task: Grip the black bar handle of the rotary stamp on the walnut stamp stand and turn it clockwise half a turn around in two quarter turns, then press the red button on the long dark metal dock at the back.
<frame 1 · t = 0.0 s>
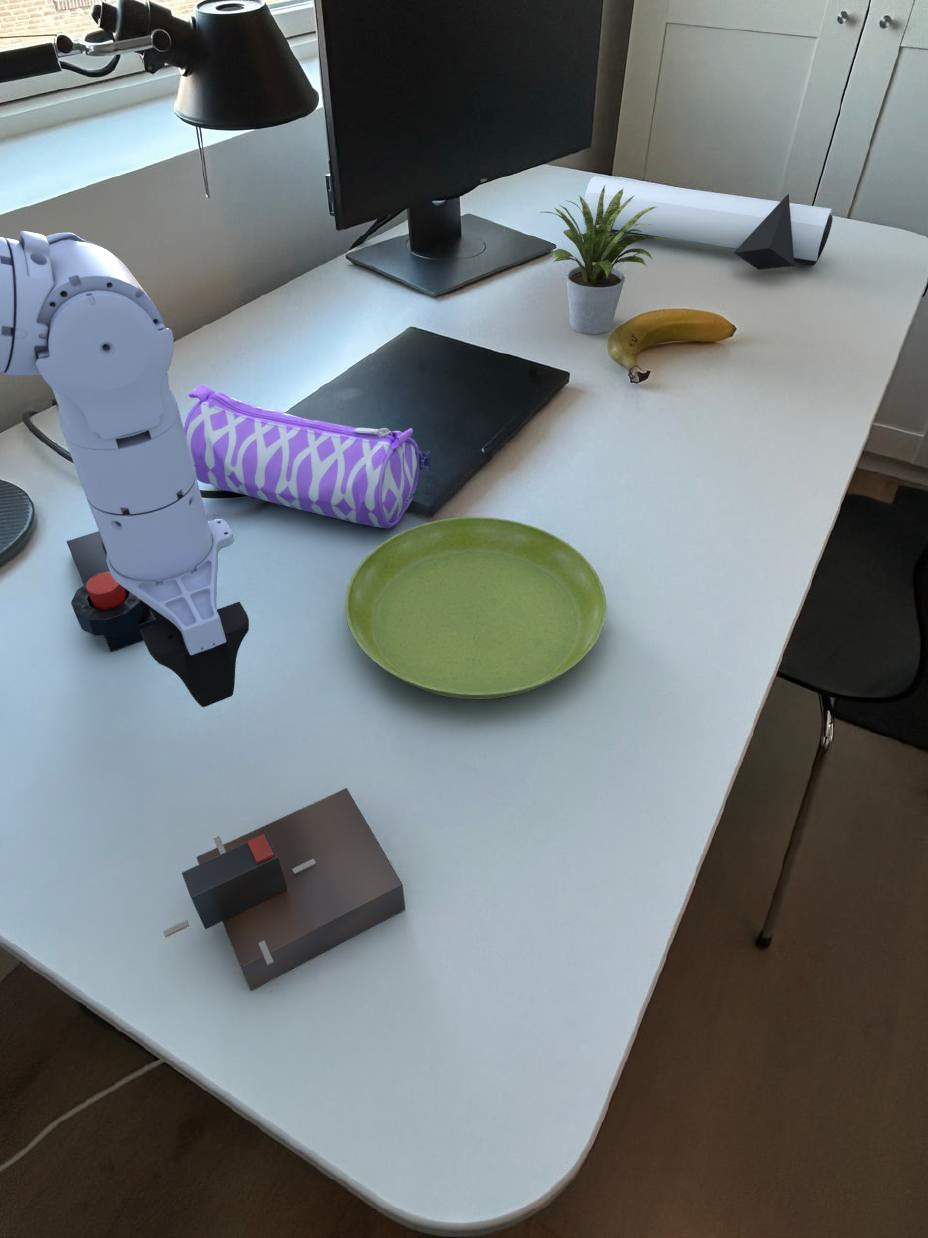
hand: (196, 659, 56), 9 cm above the table, tool pointing down, fingers open, 7 cm apart
green plate: (475, 625, 72), on the table
diploma: (692, 256, 127), on the table
pencil case: (309, 501, 85), on the table
button dock: (137, 585, 76), on the table
house plant: (584, 330, 111), on the table
dock button: (106, 590, 69), point 4 cm above the table, slide at 0.1 cm
stamp stand: (304, 895, 55), on the table
stamp handle: (235, 880, 50), point 5 cm above the table, hinge at 0.0°
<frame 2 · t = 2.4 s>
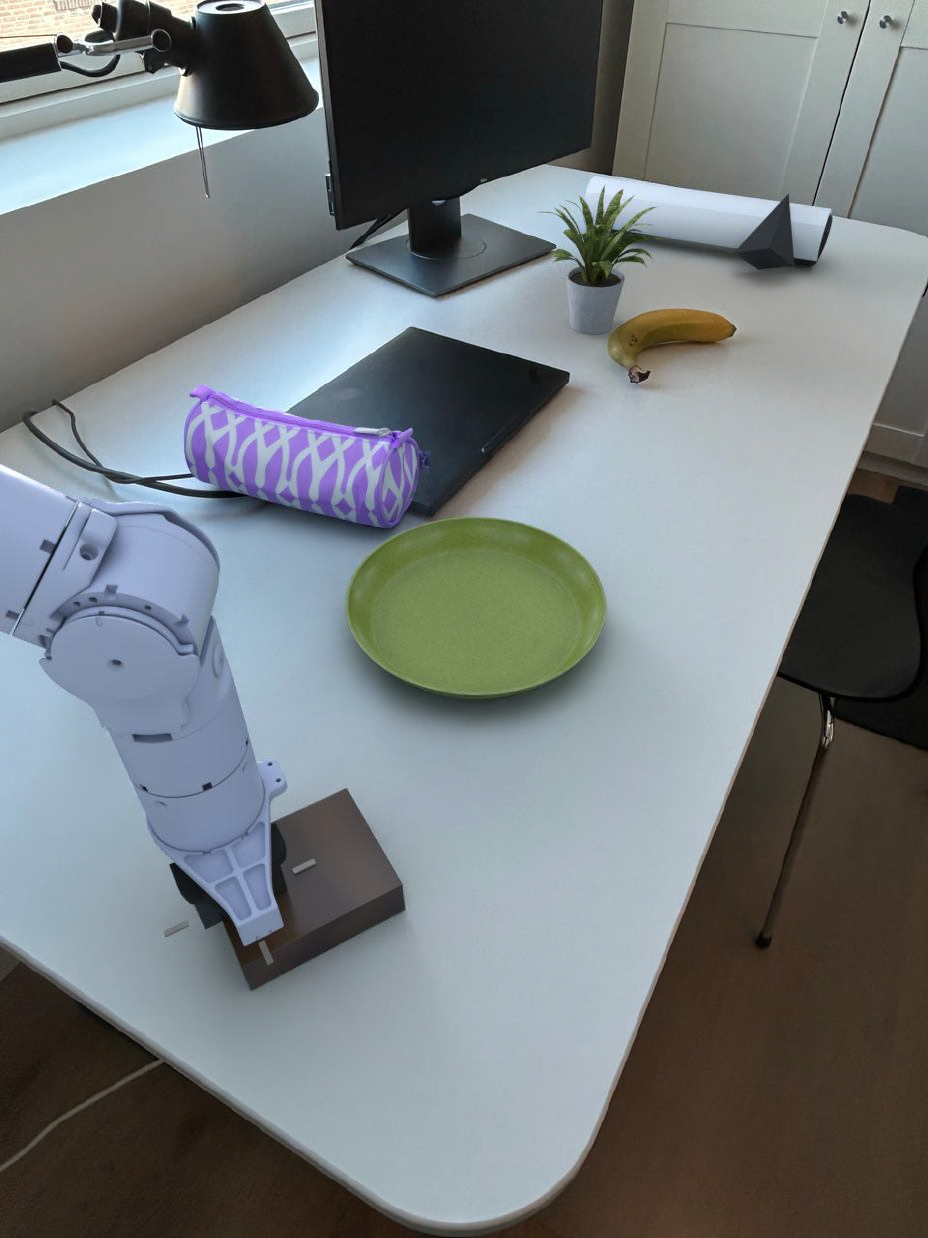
hand: (240, 893, 51), 4 cm above the table, tool pointing down, fingers closed on stamp handle, 2 cm apart
stamp handle: (235, 880, 50), point 5 cm above the table, hinge at 0.1°, touching gripper
everything else where it was.
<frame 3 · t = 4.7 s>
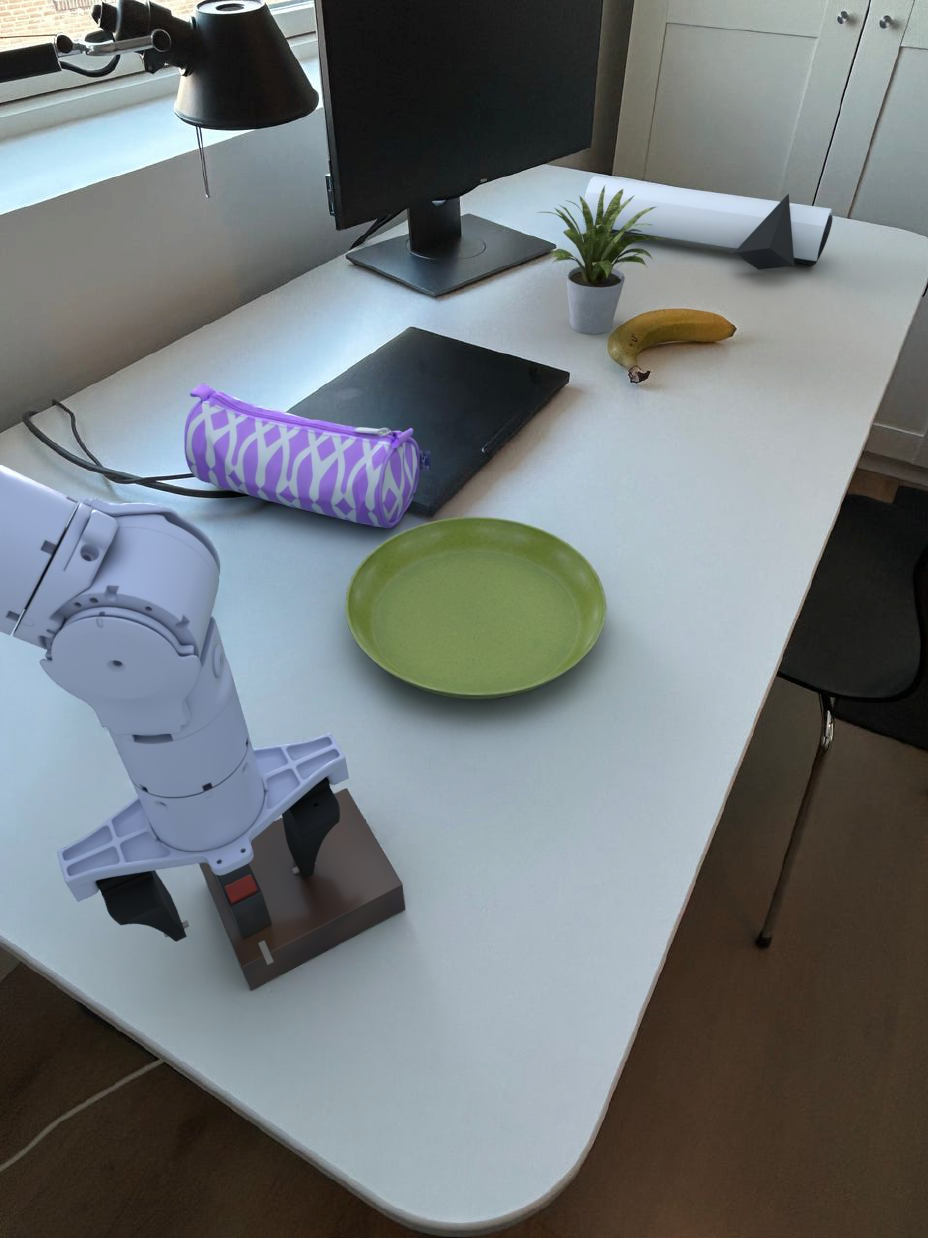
hand: (240, 893, 51), 3 cm above the table, tool pointing down, fingers open, 7 cm apart
stamp handle: (235, 880, 50), point 5 cm above the table, hinge at -89.3°
everything else where it was.
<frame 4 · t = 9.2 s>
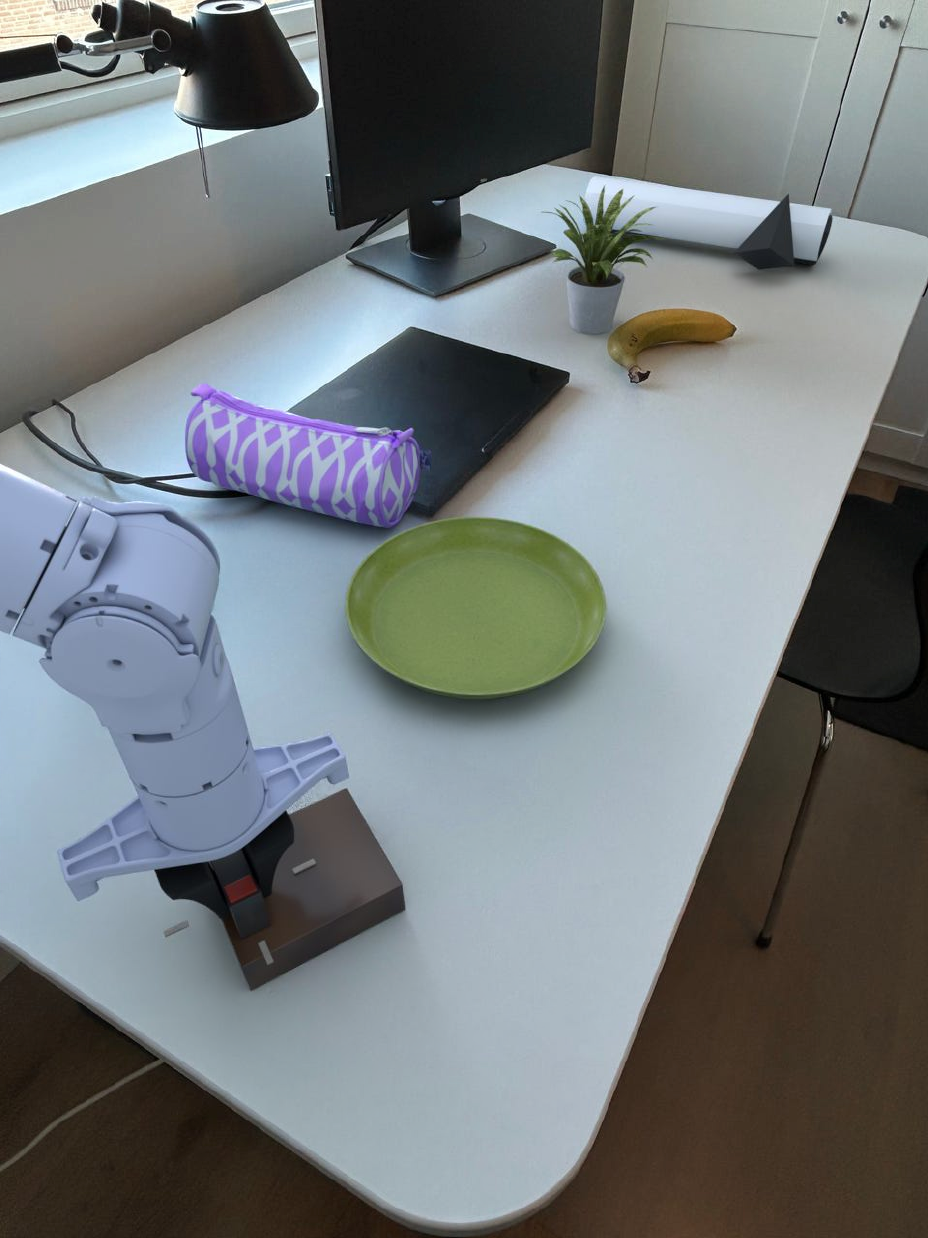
hand: (240, 893, 51), 4 cm above the table, tool pointing down, fingers closed on stamp handle, 2 cm apart
stamp handle: (235, 880, 50), point 5 cm above the table, hinge at -90.1°, touching gripper
everything else where it was.
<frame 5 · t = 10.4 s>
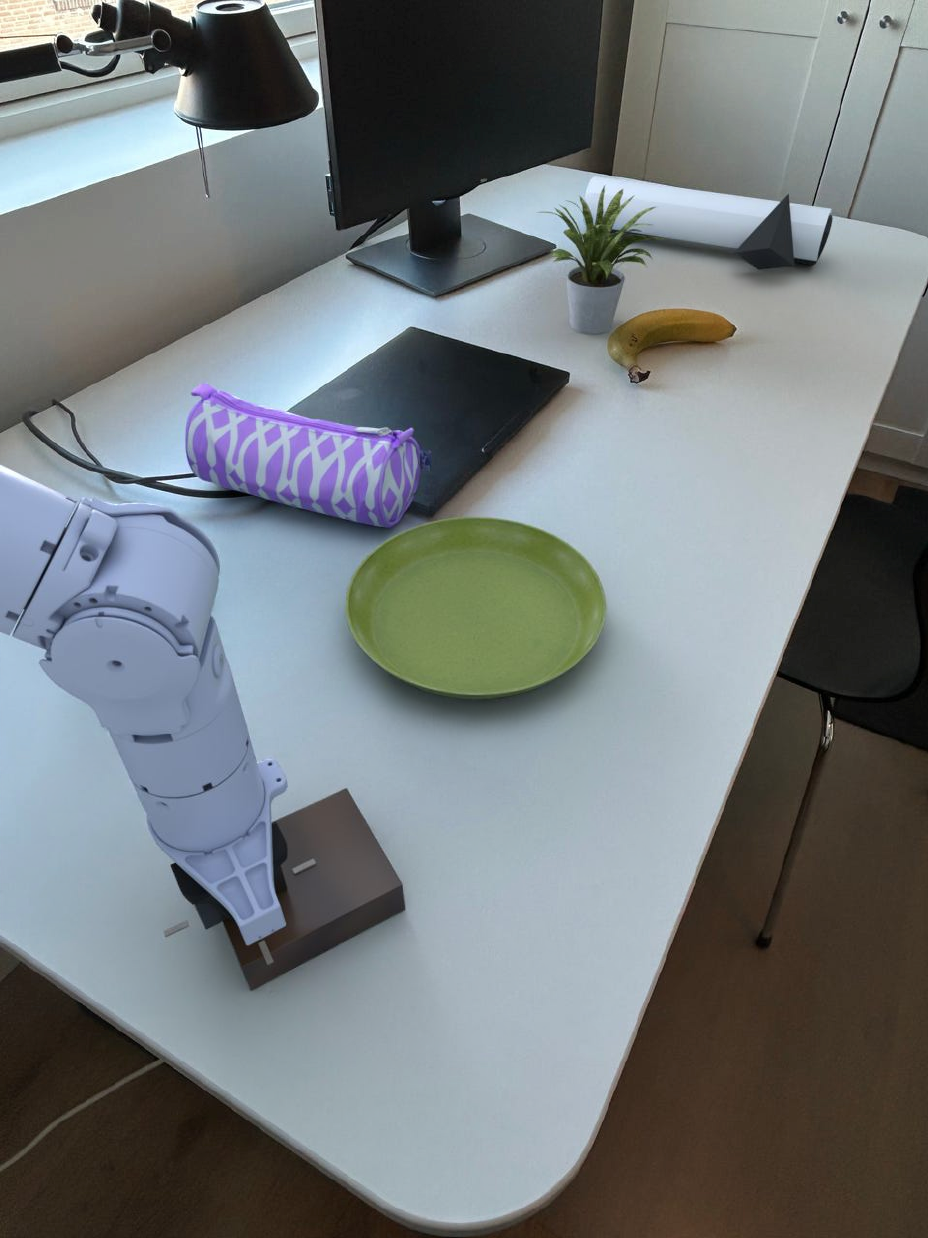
hand: (241, 893, 51), 3 cm above the table, tool pointing down, fingers closed on stamp handle, 2 cm apart
stamp handle: (235, 880, 50), point 5 cm above the table, hinge at -179.2°, touching gripper
everything else where it was.
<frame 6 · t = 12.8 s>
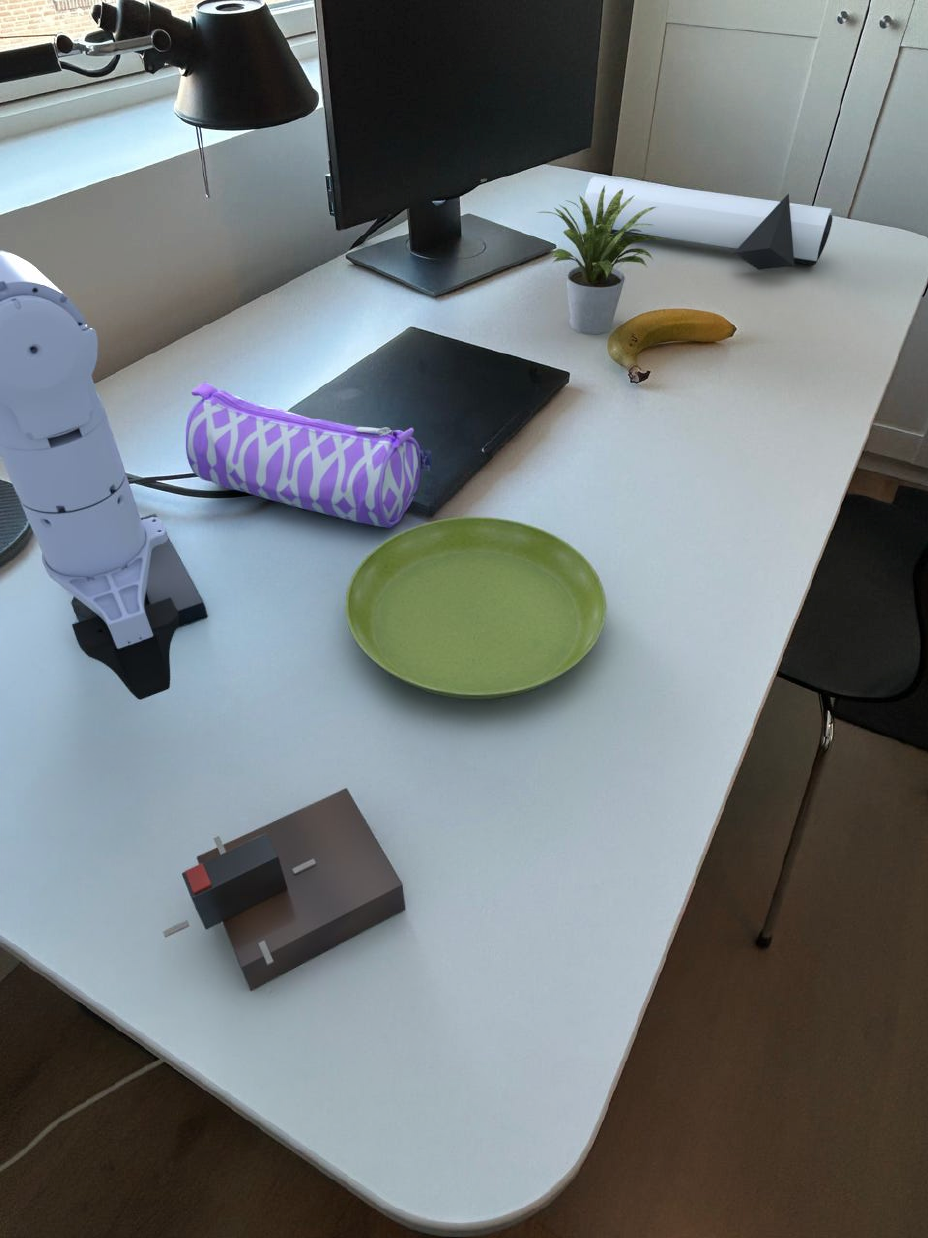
hand: (137, 653, 58), 8 cm above the table, tool pointing down, fingers open, 7 cm apart
stamp handle: (235, 880, 50), point 5 cm above the table, hinge at -179.3°
everything else where it was.
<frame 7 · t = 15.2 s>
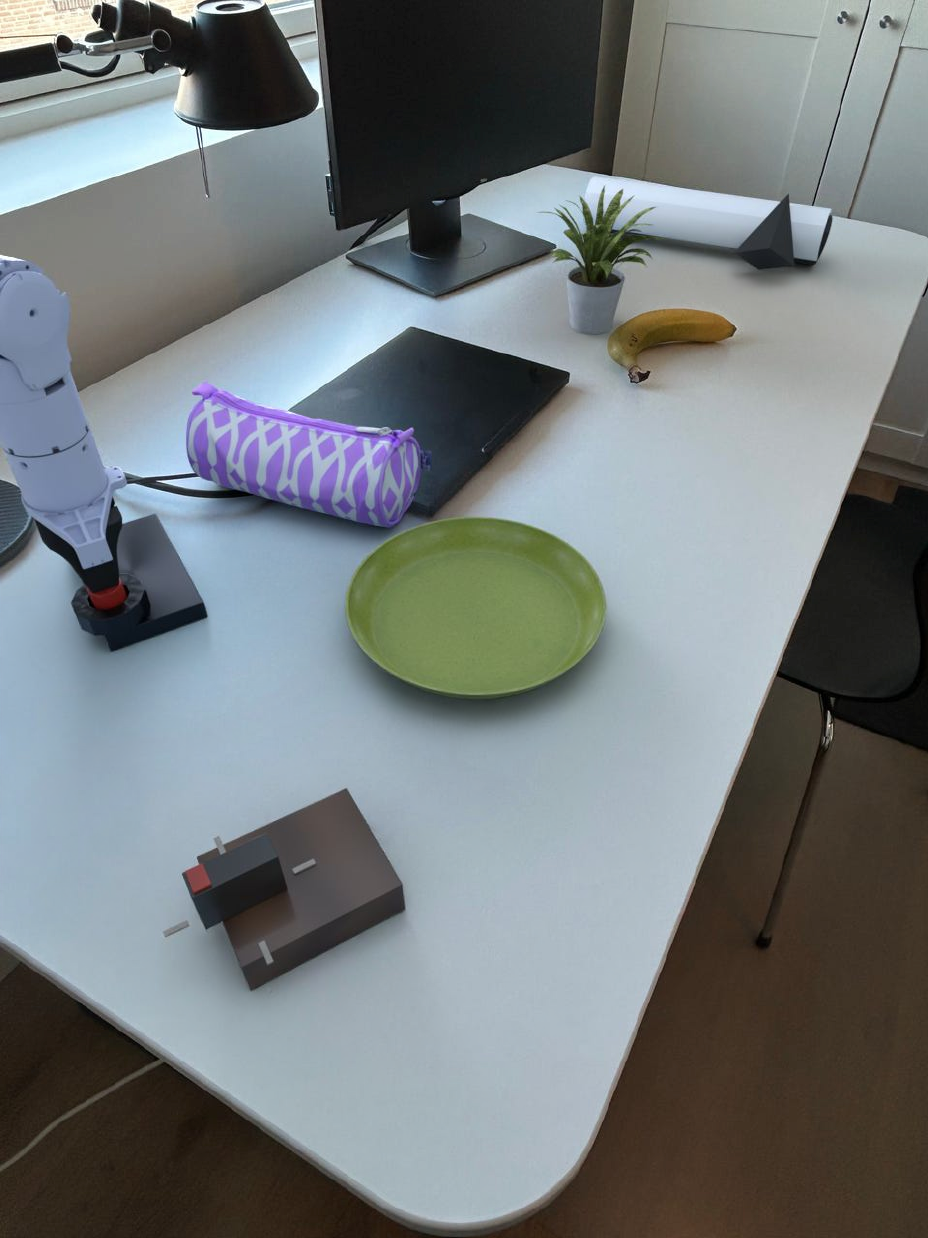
hand: (104, 584, 69), 5 cm above the table, tool pointing down, fingers closed, pressing on dock button
dock button: (107, 592, 69), point 4 cm above the table, slide at -0.1 cm, touching gripper
everything else where it was.
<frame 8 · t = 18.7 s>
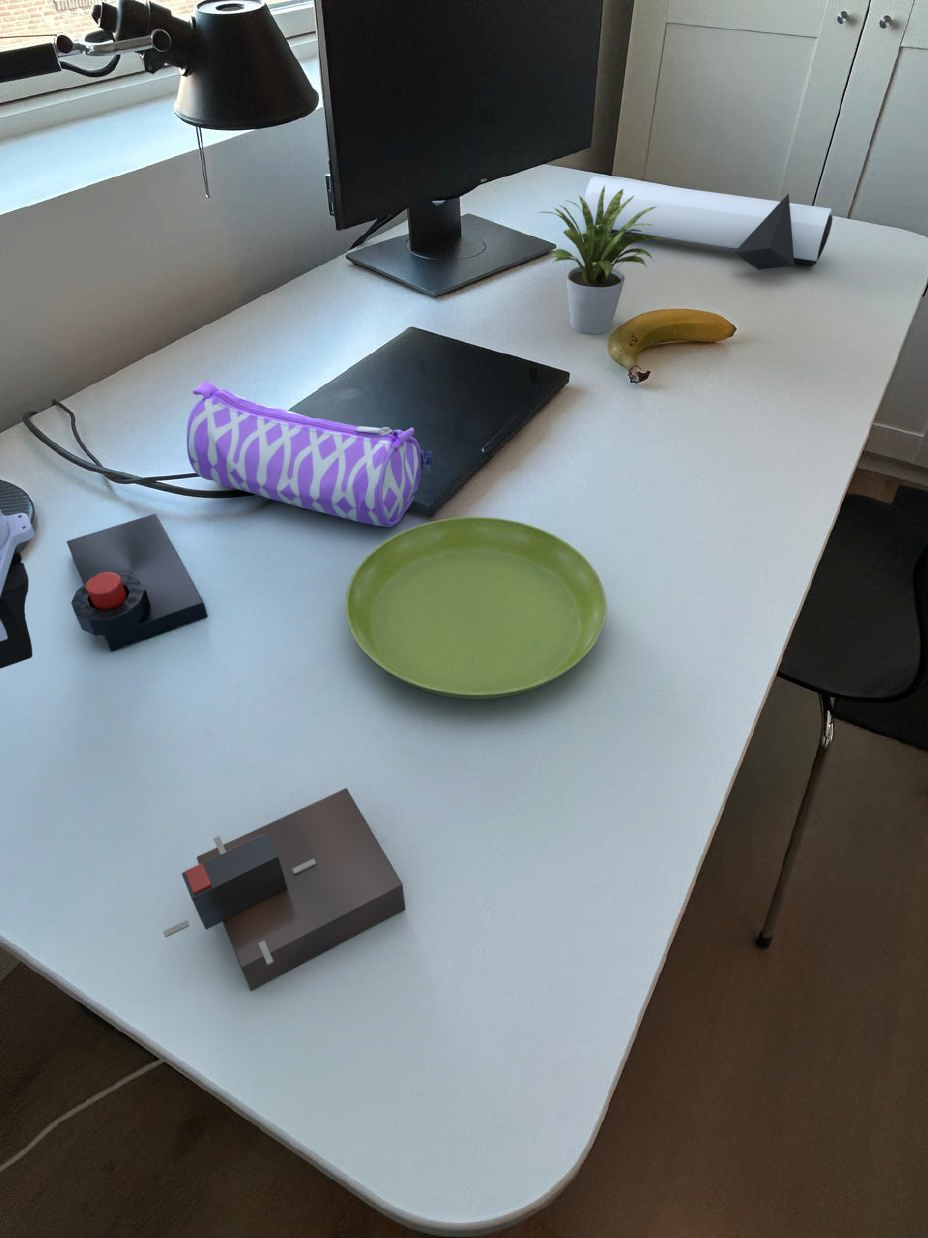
hand: (14, 656, 55), 10 cm above the table, tool pointing down, fingers closed
dock button: (106, 590, 69), point 4 cm above the table, slide at 0.1 cm
everything else where it was.
at the end: stamp handle at -179° (first picture: +0°); dock button pushed in 1.2 cm at the most during the clip, back to where it started at the end; dock button slide at 0.1 cm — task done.
